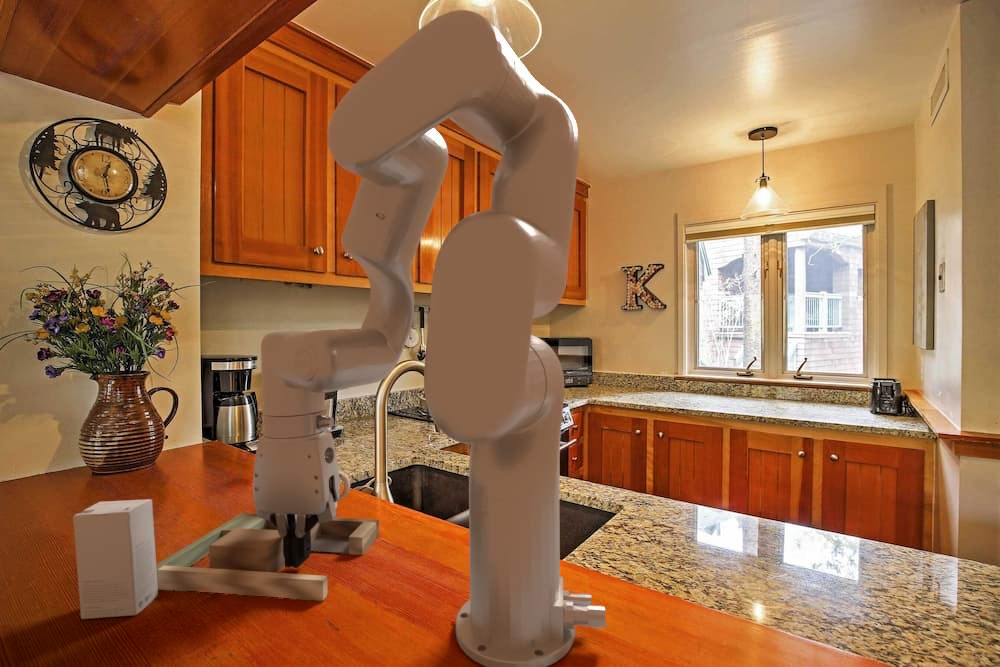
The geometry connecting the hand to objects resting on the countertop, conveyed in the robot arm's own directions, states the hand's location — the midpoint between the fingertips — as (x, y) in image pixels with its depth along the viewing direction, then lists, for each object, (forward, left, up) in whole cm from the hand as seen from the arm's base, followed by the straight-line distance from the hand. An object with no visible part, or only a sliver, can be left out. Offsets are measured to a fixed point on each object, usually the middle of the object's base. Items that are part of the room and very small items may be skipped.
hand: (297, 562), depth 62 cm
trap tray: (+4, -2, -1) cm, 5 cm away
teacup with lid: (+7, -18, -1) cm, 20 cm away
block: (+6, +1, -1) cm, 6 cm away
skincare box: (+16, +10, -1) cm, 19 cm away
